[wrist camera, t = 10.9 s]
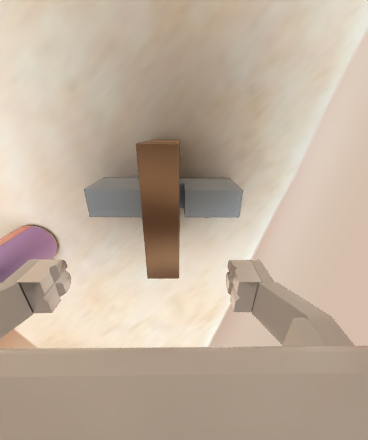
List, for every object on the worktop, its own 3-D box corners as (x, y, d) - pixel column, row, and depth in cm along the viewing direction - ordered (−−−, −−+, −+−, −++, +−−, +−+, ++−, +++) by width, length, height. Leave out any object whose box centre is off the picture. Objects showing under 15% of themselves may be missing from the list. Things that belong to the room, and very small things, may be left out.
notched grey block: (104, 177, 24) (84, 189, 19) (229, 178, 24) (243, 190, 19) (107, 200, 25) (89, 216, 20) (227, 200, 26) (239, 217, 21)
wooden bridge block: (153, 139, 22) (135, 143, 13) (179, 140, 22) (179, 144, 13) (158, 230, 27) (147, 278, 18) (179, 230, 27) (179, 278, 18)
